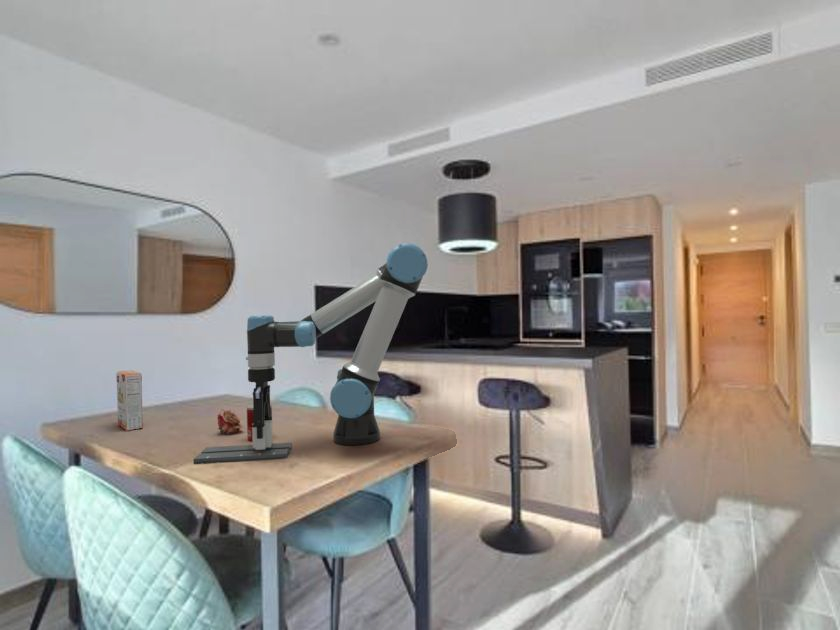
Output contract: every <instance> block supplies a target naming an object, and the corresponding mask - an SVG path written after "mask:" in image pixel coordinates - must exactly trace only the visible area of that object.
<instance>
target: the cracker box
mask: <svg viewBox="0 0 840 630" xmlns="http://www.w3.org/2000/svg"><path fill="white" fill-rule="evenodd" d="M142 375H143V374H142V373H141V372H137V371H135V370H121V371H116V398H117V399H116V400H117V405H116V406H117V424H118V426H119V427H120V426H121V428H122V429H123V430H124V429H125V430H126V431H125V432H128V431H127V430H131V431H135V430H134V429H136V430H141V429H140V428H142V429H143V428H144V422H143V421H144V420H143V419H144V418H143V385H142V383H143V382H142V381H143V380H142V378H143V377H142Z"/></svg>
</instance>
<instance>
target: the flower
mask: <svg viewBox="0 0 840 630" xmlns="http://www.w3.org/2000/svg"><path fill="white" fill-rule="evenodd" d="M241 421H242V419H241V418H240V416H239V415H238V414H237V413H235V411H232V410H225V409H221V410H220V412H219V413H218V415H217V424H218V430H219V432H220V434H223V432H224V433H225V434H227V435H230V433H233V432H235V431H236V432H237V431H238V432H239V431H240V429H242V428H244V426H243V425H242V424H241Z"/></svg>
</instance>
